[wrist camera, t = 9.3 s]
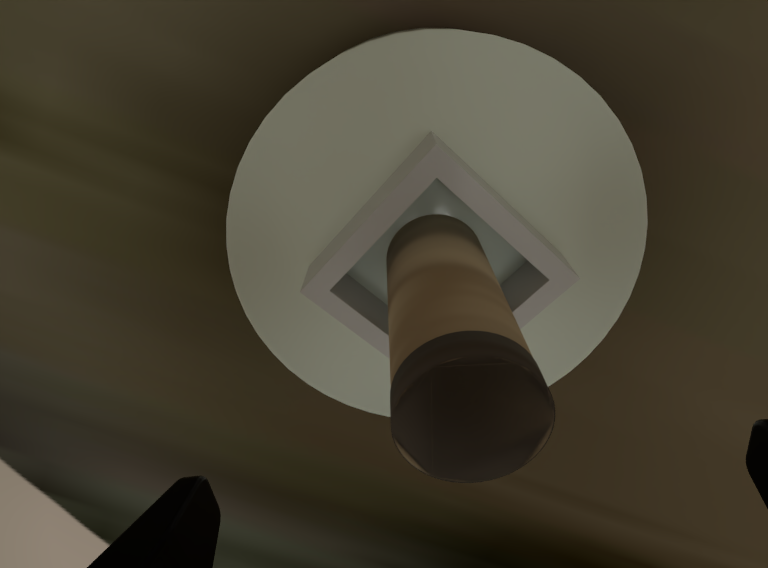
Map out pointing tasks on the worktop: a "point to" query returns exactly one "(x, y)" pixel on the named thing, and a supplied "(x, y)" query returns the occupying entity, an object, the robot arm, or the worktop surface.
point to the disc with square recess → (433, 201)
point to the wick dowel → (458, 359)
